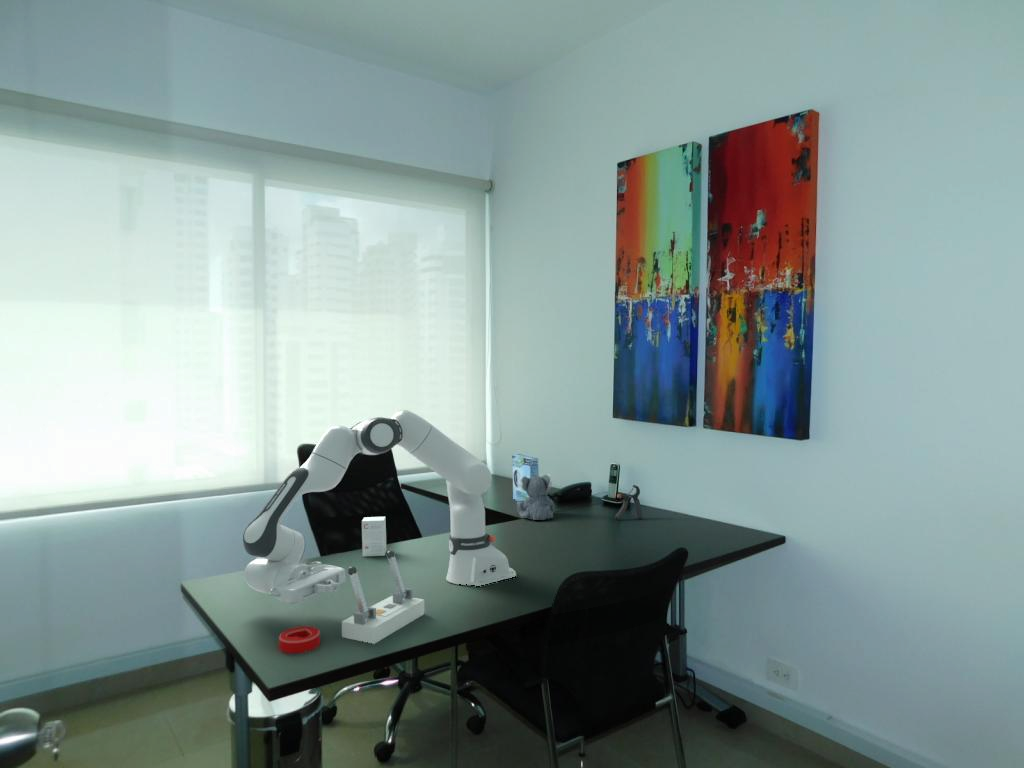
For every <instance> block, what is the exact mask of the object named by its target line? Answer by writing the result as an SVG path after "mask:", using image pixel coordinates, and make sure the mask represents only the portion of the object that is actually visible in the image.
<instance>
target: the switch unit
mask: <svg viewBox="0 0 1024 768" xmlns="http://www.w3.org/2000/svg"><path fill="white" fill-rule="evenodd" d="M404 588H405V590H407V591H408V592H409V596H408V597H406V598H404V599H403V594H400V593H398V592H393V593H392V595H390V596H389V597H386V598H385V599H382V600H381V601H379V602H377V603H375V604H373V605H371V606H367V608H368V609H370V610H371V611H372V615H371V616H370V617H368V618H366V619H365V614H363V613H360V611H359V612H358V611H355V612H354V613H353V615H351V616H349V617H347V618H346V619H344V620H342V621H341V637H342V638H345V639H349V640H353V641H359V642H362V641H363V643H367V642H368V643H367V644H371V643H372V645H375V644H377V643H378V642H380V641H382V640H383V639H385V638H386V637H389V636H390V635H392V634H393V633H395V632H397V631H398V630H401V629H402V628H403V627H405V626H407V625H409V624H410V623H411V622H414V621H416V620H417V619H418V618H420V617H422V616H424V615H425V599H424V598H423V599H422V598H419V597H418V598H417V597H413V588H409V587H408V588H407V587H404Z"/></svg>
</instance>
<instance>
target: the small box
mask: <svg viewBox="0 0 1024 768" xmlns="http://www.w3.org/2000/svg"><path fill="white" fill-rule="evenodd" d="M386 519H387V518H386V516H370V517H369V516H367V517H363V519H362V520H361V542H362V543H361V546H362V547H361V549H362V550H361V551H362V557H383V556H386V554H387V528H386V526H387V525H386V524H387V523H386V521H387V520H386Z"/></svg>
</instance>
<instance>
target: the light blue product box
mask: <svg viewBox="0 0 1024 768" xmlns="http://www.w3.org/2000/svg"><path fill="white" fill-rule="evenodd" d="M511 458H512V459H511V460H512V461H511V463H512V465H511V466H512V499H513V500H514V499H515V500H514V501H516V502H518V501H519V500H523V501H525V499H526V498H527V497H529V496H528V495H527V492H526V491H523V489H522V488H521V487H520V484H519V483H520V481H519V478H520V477H522V476H523V477H524V476H525V477H527V478H530V477H532V476H539V475H540V474H539V458H537V457H533V456H529V455H524V454H520V453H519V454H512V455H511Z"/></svg>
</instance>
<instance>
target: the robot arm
mask: <svg viewBox="0 0 1024 768" xmlns="http://www.w3.org/2000/svg"><path fill="white" fill-rule="evenodd" d="M396 445H397V446H399V447H401V448H403V449H404V450H405V451H407V452H408V453H409V454H410V455H412V456H413V457H415V459H417V460H418V461H419V462H420V463H423V464H424V466H426V467H428V469H430V470H431V471H433V472H435V473H436V474H438V476H440V477H441V478H443V479H444V480H445V483H446V491H447V498H448V504H449V511H450V512H449V513H450V518H449V519H450V534H449V535H448V536H449V538H448V539H449V541H448V550H449V553H450V555H449V563H448V570H447V574H446V577H445V580H446V581H447V582H448V583H452V584H454V585H459V584H461V585H462V586H471V585H475V586H474V587H476V586H480V587H482V586H481V585H484V586H486V585H485V584H488V585H490V584H489V583H492V582H496V583H498V582H497V581H500V580H503V579H508V578H512V577H515V576H516V577H517V572H516V570H514V569H513V568H511V567H510V565H509V564H510V563H509V560H508V557H507V556H506V555H505V554H504V553H503V552H502V551H500V550H499V549H498V548H497V547H496V546H494V545H492V544H491V543H495V542H497V537H496V536H494V535H492V534H488V533H487V532H486V509H485V506H484V502H483V499H482V498H483V497H482V494H484V493H485V492H487V490H489V489H490V487H491V485H492V480H493V479H492V478H493V477H492V472H491V470H490V469H489V467H488V465H486V464H485V463H484V462H483V461H482V460H480V459H479V458H477V457H476V456H475V455H473V454H472V452H471V453H470V451H468V450H466V449H465V448H464V447H462V446H461V445H459V444H458V443H457V442H455V441H453V440H452V439H451V438H450V437H448V436H447V435H446V434H444V433H443V432H442V431H441V430H440V429H438V428H437V427H435V426H434V425H432V423H430V422H429V421H427V420H426V419H424V418H423V417H422V416H420V415H418V414H415V412H412V411H410V410H407V409H400V410H398V411H397V412H395V413H394V414H393V415H391V417H390V418H388V417H381V416H380V417H369V418H366V419H364V420H361V421H360V422H358V423H356V424H355V425H353V426H352V427H350V428H348V427H347V426H344V425H341V424H340V425H333V426H330V427H329V428H328V429H327V430H326V431H325V432H324V434H323V435H322V436H321V438H320V439H319V440H318V442H317V444H316V445H315V446H314V448H313V450H312V451H311V454H310V455H309V457H308V458H307V460H306V461H305V462H303V464H302V465H301V466H299V467H297V468H295V469H293V470H292V471H291V472H290V473H289V474H288V475H287V476H286V477H285V478H284V480H283V481H282V482H281V484H280V485H279V487H278V488H277V490H276V491H275V492H274V494H273V495H272V496H271V498H270V499H269V500H268V502H267V503H266V504H265V506H264V507H263V509H262V510H261V511H260V513H259V514H258V515H257V516H255V518H254V519H253V520H252V521H251V522H249V523H248V525H247V527H246V528H245V529H244V531H243V535H242V541H243V542H242V543H243V548H244V550H245V552H246V553H247V554H248V555H249V556H253V557H256V558H255V559H253V560H251V561H250V562H249V563H248V564H247V565H246V567H245V570H244V580H245V582H246V584H247V585H248V586H249V588H251V589H253V590H254V591H257V592H260V593H263V594H267V595H269V596H271V597H276V600H277V601H279V602H282V603H285V604H290V605H291V604H292V605H294V604H297V603H301V602H302V601H305V600H307V599H309V598H311V597H314V596H315V595H318V594H325V593H328V594H332V593H334V592H337V591H338V590H339V589H340V584H343V583H345V582H346V569H345V568H343V567H340V566H336V565H332V564H322V562H321V561H312V562H307V563H301V561H302V559H303V556H304V554H305V550H306V545H307V544H306V539H305V536H304V535H303V534H302V533H301V532H299V531H296V530H294V529H293V528H290V527H287V526H285V525H282V524H281V523H282V520H283V519H284V518H285V516H286V515H287V513H288V511H289V510H290V509H291V507H292V506H293V505H294V503H295V502H296V500H298V498H299V497H301V496H302V495H304V494H307V493H321V492H323V493H324V492H327V491H330V490H333V489H334V488H336V486H337V485H338V484H339V483H340V482H341V481H342V479H343V477H344V475H345V473H346V472H347V470H348V468H349V465H350V463H351V461H352V460H354V459H353V458H354V457H355V456H356V455H357V454H358V455H362V456H363V455H365V456H377V455H381V454H385V453H387V452H389V451H390V450H392V449H393V448H394V447H395V446H396ZM466 584H467V585H466ZM492 584H493V583H492Z"/></svg>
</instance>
